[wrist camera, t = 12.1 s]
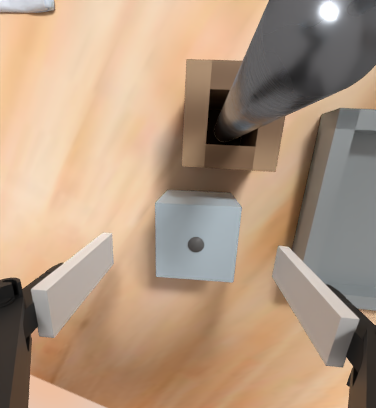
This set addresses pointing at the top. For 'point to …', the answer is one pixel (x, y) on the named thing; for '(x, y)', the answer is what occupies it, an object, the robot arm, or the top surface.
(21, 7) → the folded bicycle print cloth
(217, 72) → the bored block
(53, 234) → the top surface
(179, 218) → the block
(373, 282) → the tray
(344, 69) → the rod
